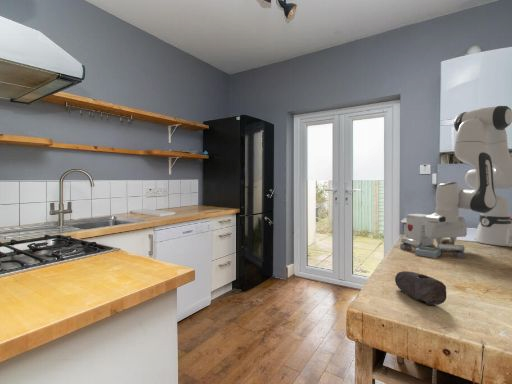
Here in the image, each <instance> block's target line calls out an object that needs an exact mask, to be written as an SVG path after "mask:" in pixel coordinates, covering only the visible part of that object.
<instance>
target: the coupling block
mask: <svg viewBox="0 0 512 384" xmlns="http://www.w3.org/2000/svg"><path fill="white" fill-rule="evenodd" d="M441 242H442V244H451V245H455V243H454V241H451V239H450V238H442V240H441ZM444 252H445V253H450V252H451V253H452V252H453V251H443V253H444Z"/></svg>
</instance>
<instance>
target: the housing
mask: <svg viewBox="0 0 512 384" xmlns="http://www.w3.org/2000/svg"><path fill="white" fill-rule="evenodd" d="M441 254H442V253H441V250H438V248H436V247H429V246H428V247H427V246H422V247H416V248H415V249H414V255H416V256H422V257H428V258H432V259H436V258H437V259H438V257H439V256H441Z"/></svg>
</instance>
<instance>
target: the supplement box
mask: <svg viewBox="0 0 512 384" xmlns="http://www.w3.org/2000/svg"><path fill="white" fill-rule="evenodd" d="M428 215H429V214H424V213H423V214H422V213H409V214H406V229H405V232H406V233H405V235H406V236H405V238H408V239H412V240H417V241H421V242H422V246H423V247H427V246H428V247H429V246H434V244H435V243H434V240H435V238H434V239H432V238H427V237H426V235H425V225H426V222H427V221H426V216H428Z"/></svg>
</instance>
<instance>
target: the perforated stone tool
mask: <svg viewBox="0 0 512 384" xmlns="http://www.w3.org/2000/svg"><path fill="white" fill-rule="evenodd" d="M394 281H395V284H396V286H397V287H398V289H399V290H400V291H402V292H403V293H405V294H407V295H408V296H409V297H410V298H413V299H414V300H415V301H422V302H425V303H426V304H427V305H429V306H432V305H433V306H434V305H441V304H443V303H445V302H446V300H447V294H448V293H447V287H446V285H445V284H444V282H442V281H440V280H438V279H436V278H433V277H431V276H428V275H425V274H422V273H418V272H414V271H406V270H402V271H400V272H397V273H396V275H395V276H394Z"/></svg>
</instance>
